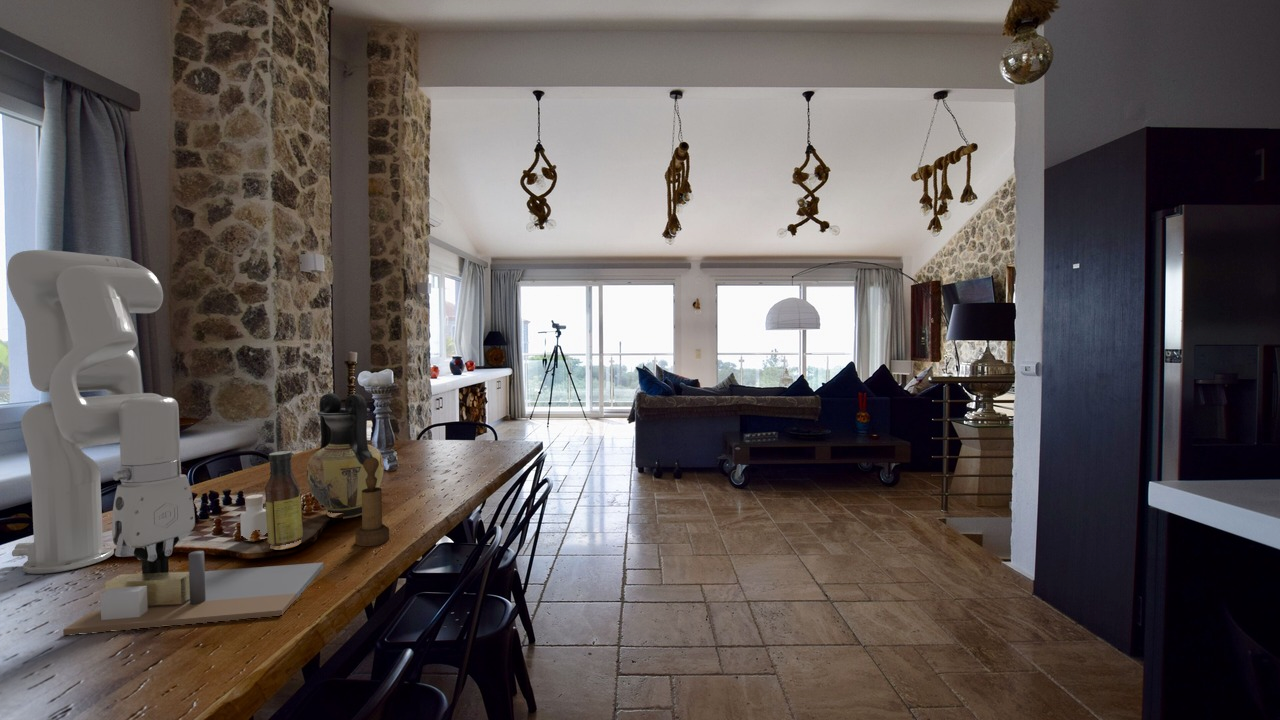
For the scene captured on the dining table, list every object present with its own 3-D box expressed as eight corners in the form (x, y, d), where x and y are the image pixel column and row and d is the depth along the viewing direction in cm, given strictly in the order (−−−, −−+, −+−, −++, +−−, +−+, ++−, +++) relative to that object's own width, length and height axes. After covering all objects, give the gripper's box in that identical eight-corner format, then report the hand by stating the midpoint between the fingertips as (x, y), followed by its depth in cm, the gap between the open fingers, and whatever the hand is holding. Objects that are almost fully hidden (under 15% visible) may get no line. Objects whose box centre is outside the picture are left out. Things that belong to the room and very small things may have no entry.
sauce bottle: (309, 542, 123) (307, 449, 122) (289, 553, 117) (286, 455, 116) (281, 541, 124) (278, 449, 123) (259, 552, 118) (256, 455, 117)
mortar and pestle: (367, 548, 119) (365, 462, 118) (349, 542, 123) (347, 458, 122) (395, 539, 125) (394, 456, 124) (377, 533, 128) (375, 453, 128)
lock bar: (194, 595, 95) (193, 571, 94) (181, 603, 92) (180, 579, 91) (121, 598, 93) (120, 574, 93) (106, 607, 90) (105, 582, 90)
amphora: (289, 520, 138) (286, 395, 136) (345, 501, 154) (342, 389, 152) (349, 527, 132) (346, 397, 131) (400, 506, 149) (398, 390, 147)
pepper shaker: (239, 541, 123) (238, 497, 123) (257, 535, 127) (256, 493, 127) (252, 544, 122) (251, 499, 122) (270, 538, 126) (269, 494, 125)
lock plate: (63, 636, 84) (60, 575, 84) (147, 581, 104) (145, 531, 103) (282, 616, 90) (280, 559, 90) (323, 567, 109) (322, 520, 109)
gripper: (115, 484, 87) (120, 604, 88) (213, 463, 101) (217, 566, 102) (81, 481, 89) (86, 598, 90) (182, 461, 103) (185, 562, 104)
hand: (156, 581), depth 96 cm, fingers closed
